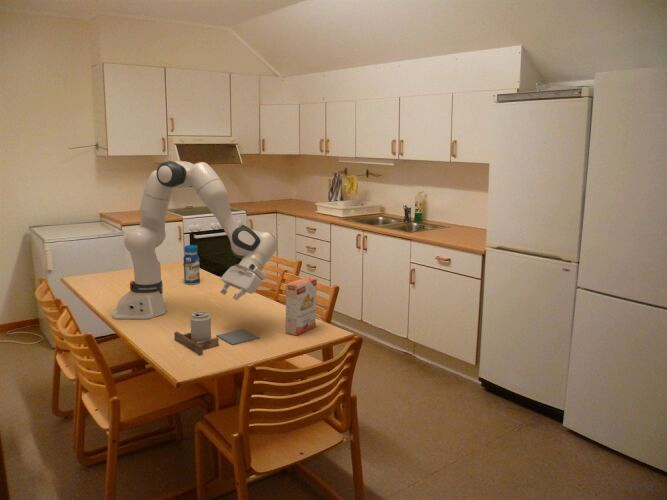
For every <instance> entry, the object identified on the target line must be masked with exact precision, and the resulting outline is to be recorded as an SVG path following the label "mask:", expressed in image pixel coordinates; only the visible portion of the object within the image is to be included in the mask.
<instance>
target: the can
mask: <svg viewBox="0 0 667 500" xmlns="http://www.w3.org/2000/svg"><path fill="white" fill-rule="evenodd" d="M211 319H212V317H211V315H210V313H209V312H207V311H195V312H192V313H191V317H190V332H191V340H192V341H194V342H199V341H204V340H208V339H212V320H211Z"/></svg>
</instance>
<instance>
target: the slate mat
mask: <svg viewBox="0 0 667 500" xmlns="http://www.w3.org/2000/svg"><path fill="white" fill-rule="evenodd" d="M216 337H217V338H218V339H220V340H222V341H223V342H226V343H228V344H230V346H231V345H232V346H235V345H239V344H243V343H246V342H251V341H254V340H259V339H260V336H258V335H256V334H254V333H253V332H250V331H248V330H246V329H244V328H240V329H236V330H232V331H228V332H223V333H221V334H220V333H219V334H216ZM216 337H215V338H216Z"/></svg>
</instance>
